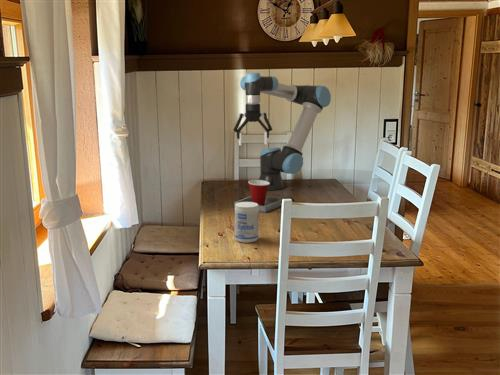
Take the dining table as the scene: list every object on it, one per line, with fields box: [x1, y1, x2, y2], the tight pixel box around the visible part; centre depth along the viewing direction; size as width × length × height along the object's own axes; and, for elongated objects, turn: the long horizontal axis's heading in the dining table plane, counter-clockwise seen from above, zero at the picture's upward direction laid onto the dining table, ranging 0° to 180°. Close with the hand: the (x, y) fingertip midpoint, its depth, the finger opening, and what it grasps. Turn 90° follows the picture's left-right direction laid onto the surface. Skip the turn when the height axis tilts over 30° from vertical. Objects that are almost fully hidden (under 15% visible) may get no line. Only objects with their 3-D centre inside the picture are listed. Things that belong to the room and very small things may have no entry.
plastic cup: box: [248, 179, 270, 206], centre depth 268 cm, size 11×11×12 cm
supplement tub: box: [234, 202, 260, 244], centre depth 215 cm, size 10×10×15 cm
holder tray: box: [233, 195, 283, 214], centre depth 269 cm, size 18×18×3 cm
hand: (252, 144), depth 280 cm, fingers open, 13 cm apart
